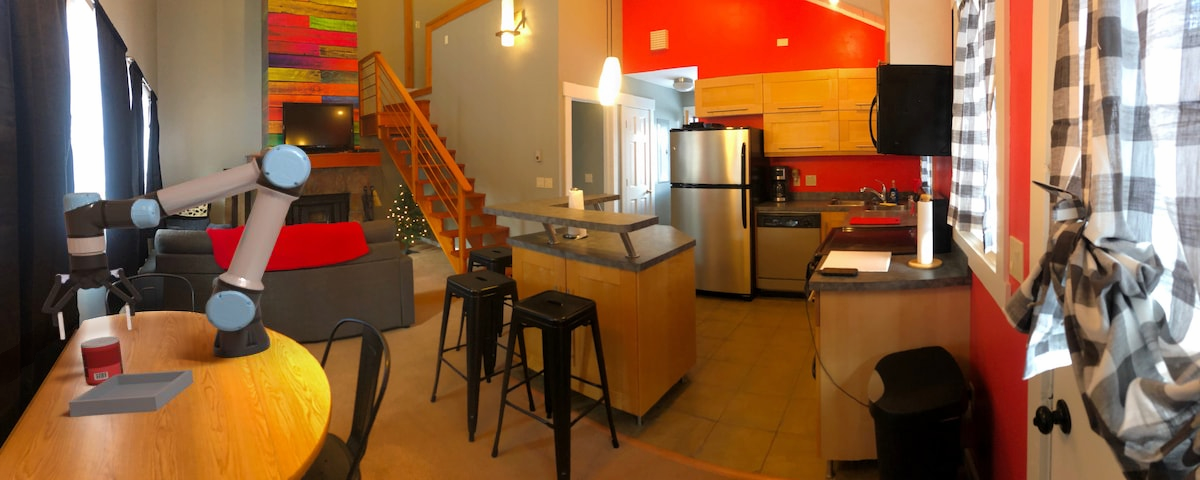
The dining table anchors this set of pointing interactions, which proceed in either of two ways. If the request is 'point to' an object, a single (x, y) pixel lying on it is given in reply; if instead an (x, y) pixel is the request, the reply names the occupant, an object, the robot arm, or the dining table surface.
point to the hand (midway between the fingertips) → (97, 333)
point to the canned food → (101, 359)
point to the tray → (131, 393)
